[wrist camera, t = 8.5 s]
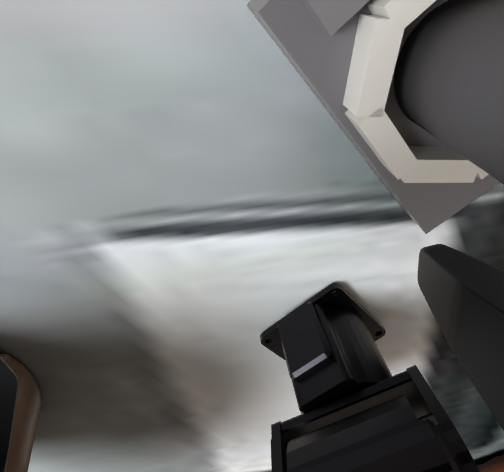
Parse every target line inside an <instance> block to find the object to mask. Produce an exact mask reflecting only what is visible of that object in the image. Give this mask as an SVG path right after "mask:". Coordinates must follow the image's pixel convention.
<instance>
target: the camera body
mask: <svg viewBox="0 0 504 472" xmlns="http://www.w3.org/2000/svg"><path fill="white" fill-rule="evenodd" d="M446 1H448V0H251V1H250V2H249V3H248V4H247V6H248V8H249V9H250V10H251V12H252V13H253V14H254V15H255V17H256V18H257V19H258V21H259V22H260V23H261V25H262V26H263V27H264V29H265V30H266V31H267V32H268V34H269V35H270V36H271V38H272V39H273V40H274V42H275V43H276V44H277V46H278V47H279V48H280V49H281V51H282V52H283V53H284V55H285V56H286V57H287V59H288V60H289V61H290V62H291V64H292V65H293V66H294V68H295V69H296V70H297V72H298V73H299V74H300V76H301V77H302V78H303V79H304V81H305V82H306V83H307V85H308V86H309V87H310V89H311V90H312V91H313V93H314V94H315V95H316V96H317V98H318V99H319V100H320V102H321V103H322V104H323V106H324V107H325V108H326V110H327V111H328V112H329V113H330V115H331V116H332V117H333V119H334V120H335V121H336V123H337V124H338V125H339V126H340V128H341V129H342V130H343V132H344V133H345V134H346V136H347V137H348V138H349V140H350V141H351V142H352V143H353V145H354V146H355V147H356V149H357V150H358V151H359V153H360V154H361V155H362V157H363V158H364V159H365V160H366V162H367V163H368V164H369V166H370V167H371V168H372V170H373V171H374V172H375V174H376V175H377V176H378V177H379V179H380V180H381V181H382V183H383V184H384V185H385V187H386V188H387V189H388V191H389V192H390V193H391V194H392V196H393V197H394V198H395V200H396V201H397V202H398V204H399V205H400V206H401V207H402V208H403V209H404V210H405V211H406V213H407V214H408V215H409V216H410V217H411V218H412V219H413V220H414V221H415V222H416V224H417V225H418V226H419V227H420V228H421V229H422V230H423V231H424V232H425V233H426V234H427V233H428V232H430V231H431V230H432V229H434V228H435V227H437V226H438V225H440V224H441V223H442V222H444V221H445V220H447V219H448V218H450V217H451V216H452V215H454V214H455V213H457V212H458V211H460V210H461V209H463V208H464V207H465V206H467V205H468V204H470V203H471V202H473V201H474V200H475V199H477V198H478V197H480V196H481V195H483V194H484V193H485V192H487V191H488V190H490V189H491V188H493V187H494V186H496V185H497V184H498V183H500V181H498V180H497V179H495V178H494V177H492V176H491V175H489V174H488V173H486V172H485V171H483V170H482V169H481V168H479V167H478V166H476V165H475V164H473V163H472V162H470V161H469V160H467V159H466V158H465V157H463V156H462V155H460V154H459V153H457V152H456V151H454V150H453V149H451V148H450V147H449V146H447V145H446V144H444V143H443V142H441V141H440V140H438V139H437V138H435V137H434V136H433V135H431V134H430V133H428V132H427V131H425V130H424V129H422V128H421V127H419V126H418V125H416V124H415V123H414V122H412V121H411V120H409V119H408V118H407V117H406V116H405V115H404V113H403V112H402V111H401V109H400V107H399V105H398V103H397V100H396V97H395V91H394V73H395V68H396V63H397V60H398V57H399V54H400V52H401V49H402V47H403V45H404V43H405V41H406V40H407V38H408V36H409V35H410V33H411V32H412V31H413V29H414V28H415V27H416V26H417V24H418V23H419V22H420V21H421V20H422V19H423V18H424V17H425V16H426V15H427V14H428V13H429V12H431V11H432V10H433V9H435V8H436V7H438V6H439V5H441V4H442V3H444V2H446Z"/></svg>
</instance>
